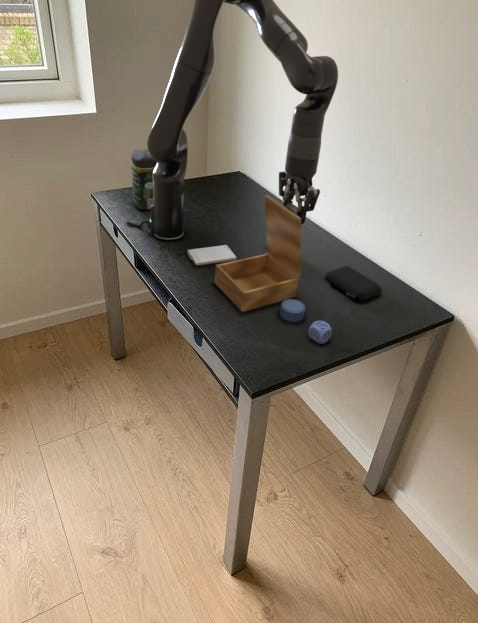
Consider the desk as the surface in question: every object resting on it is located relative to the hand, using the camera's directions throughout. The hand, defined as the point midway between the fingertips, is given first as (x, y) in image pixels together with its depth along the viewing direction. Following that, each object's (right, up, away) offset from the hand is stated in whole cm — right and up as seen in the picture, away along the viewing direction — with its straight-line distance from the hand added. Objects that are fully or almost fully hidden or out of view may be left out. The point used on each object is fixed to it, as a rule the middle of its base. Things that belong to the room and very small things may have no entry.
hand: (293, 219), depth 122 cm
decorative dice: (+5, -30, -7) cm, 31 cm away
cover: (-3, -4, +1) cm, 5 cm away
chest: (-10, -18, +7) cm, 22 cm away
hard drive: (-22, -8, +20) cm, 31 cm away
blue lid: (-1, -25, 0) cm, 25 cm away
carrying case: (+18, -17, +13) cm, 28 cm away
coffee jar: (-46, +13, +46) cm, 67 cm away
